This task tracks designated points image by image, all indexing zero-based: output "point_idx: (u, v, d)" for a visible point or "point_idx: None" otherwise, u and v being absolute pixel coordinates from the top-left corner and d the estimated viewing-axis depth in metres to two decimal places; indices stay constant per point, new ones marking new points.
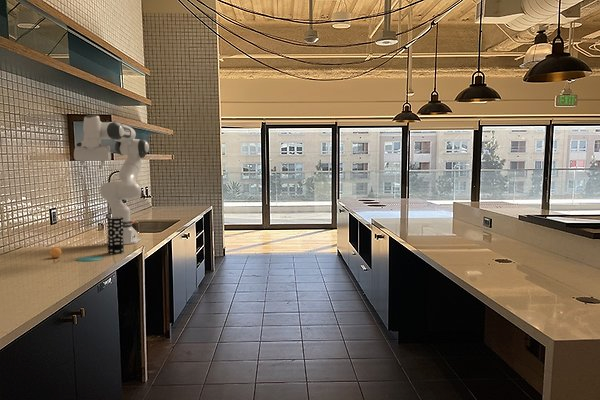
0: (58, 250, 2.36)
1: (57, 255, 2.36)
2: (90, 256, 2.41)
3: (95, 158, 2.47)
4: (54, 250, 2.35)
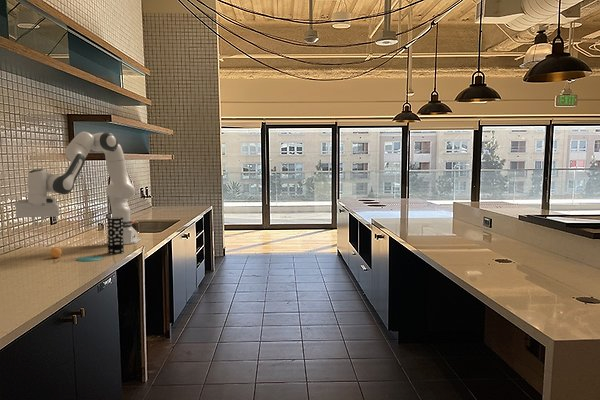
0: (58, 250, 2.36)
1: (57, 255, 2.36)
2: (90, 256, 2.41)
3: None
4: (54, 250, 2.35)
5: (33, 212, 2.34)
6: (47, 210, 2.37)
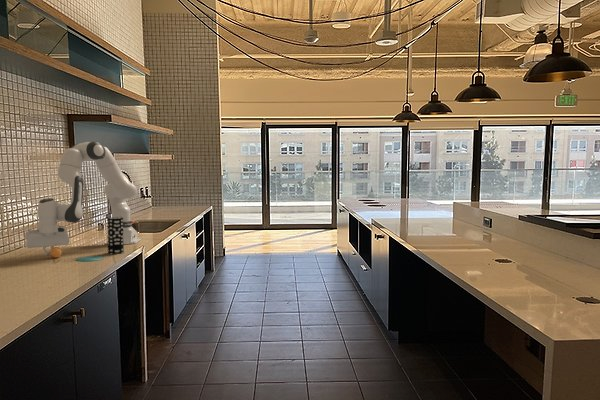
0: (58, 250, 2.36)
1: (57, 255, 2.36)
2: (90, 256, 2.41)
3: None
4: (54, 250, 2.35)
5: (44, 241, 2.35)
6: (58, 239, 2.39)
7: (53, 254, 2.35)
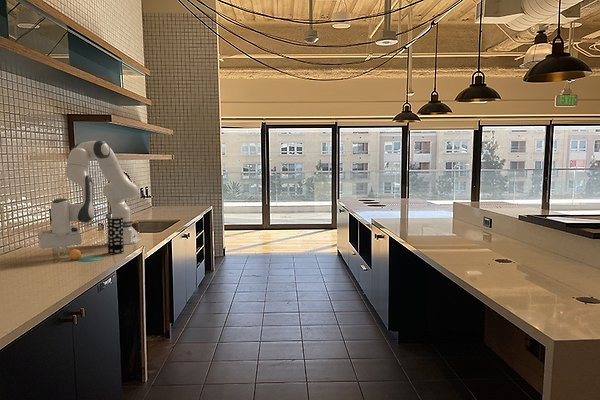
0: None
1: (74, 250, 2.32)
2: (90, 256, 2.41)
3: None
4: None
5: (58, 242, 2.34)
6: (71, 239, 2.39)
7: (71, 253, 2.31)
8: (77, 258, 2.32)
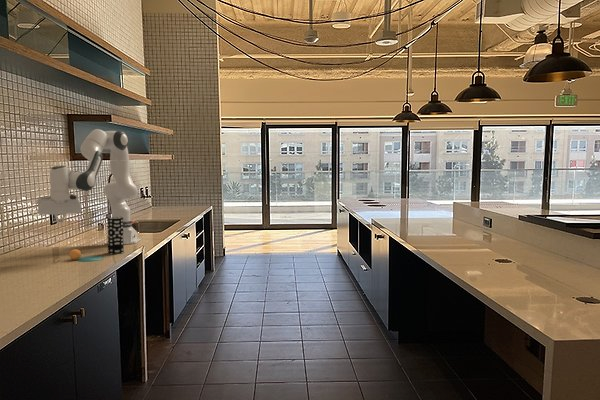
0: None
1: (74, 250, 2.32)
2: (90, 256, 2.41)
3: None
4: None
5: (56, 209, 2.33)
6: (70, 207, 2.36)
7: (71, 253, 2.31)
8: (77, 258, 2.32)
